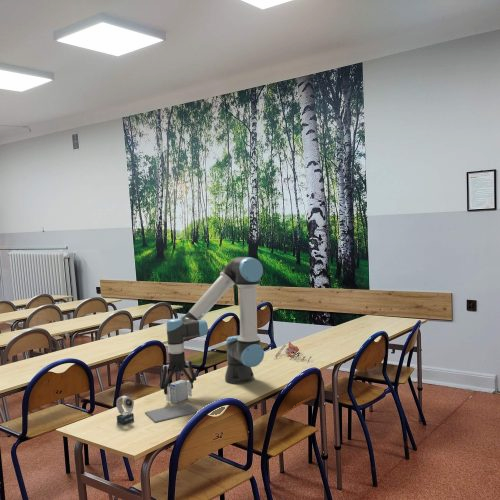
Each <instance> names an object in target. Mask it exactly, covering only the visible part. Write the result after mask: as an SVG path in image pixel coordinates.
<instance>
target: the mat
mask: <svg viewBox="0 0 500 500" xmlns="http://www.w3.org/2000/svg"><path fill="white" fill-rule="evenodd" d="M197 411H199V410H198V409H197V408H195V407H194V406H193V405H191V404H190V403H188V402H183V403H182V402H181V403H177V404H175V405H170V406H166V407H161V408H156V409H152V410H147V411H145V412H144V414H145V415H146V416H147V417H148V418H150V419H151V420H152V422H153V423H160V422H164V421H169V420H172V419H177V418H181V417H185V416H189V415H194V414H197V413H196V412H197Z"/></svg>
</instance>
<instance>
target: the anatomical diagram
mask: <svg viewBox="0 0 500 500" xmlns="http://www.w3.org/2000/svg"><path fill="white" fill-rule="evenodd" d="M282 351H284V353H285V354H286V355H288V356H290V358H291V359H294V358H295V359H297V358H298V359H297V360H298V361H299V360H300V359H301V360H303V361H304V360H305V358H306V357H309V359H307V361H308V362H309V360H310V359H311V358H312V356H309V355H306V354H304V352H303V351H300V348H299V347H298V346H296V345H294V344H292V343H291V341H289V342H288V347H286V345H285V344H283V346H282V347H281V348H280V350H278V351H277V353H276V355H275V357H276V358H277V359H278V357H279V356H281V352H282ZM298 351H299V352H298ZM291 352H292V353H291ZM293 352H294V353H293ZM297 352H298V354H299V355H298V356H297V357H294V356H295V355H297V354H296V353H297ZM301 352H302V353H301ZM300 353H301V354H300ZM304 355H305V356H304ZM291 356H292V357H291ZM302 356H303V357H302ZM301 357H302V358H301Z"/></svg>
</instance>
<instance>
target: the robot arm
mask: <svg viewBox="0 0 500 500" xmlns="http://www.w3.org/2000/svg"><path fill="white" fill-rule="evenodd" d="M263 273H264V267H263V265H262V263H261V261H259V260H258V259H257V258H254V257H250V256H248V257H247V256H238V257H234V258H233V259H231V261H230V262H229V263H227V265H226V266H225V267H224V268H223V269H222V270H221V271H220V272H219V276H218V277H217V279H216V280H215V281H214V282H213V283H212V285H210V287H208V289H207V290H206V291H205V292H204V293H203V294H202V296H201V297H200V298H199V299H198V300H197V302H196V303H195V304H194V305H193V306H192V307H191V308H190V309H189V310H188V312H187V313H186V314H185V315H183V316H181V317H179V318H170V319H168V320H167V321H166V335H167V336H166V338H167V352H168V356H167V357H168V364H166V365H165V364H162V372H161V377H160V380H159V385H158V386H160V388H163V394H164V395H165V398H166V399H165V401H167V403H169V402H170V390H169V384H170V382H171V380H172V379H173V376H174V374H175V373H178V372H179V373H180V372H182V373H183V375H184V376H185V377H186V379H187V383H188V397H190V398H191V397H193V393H192V392H193V390H192V389H194V382H195V381H197V376H196V374H195V371H194V369H193V365H192V361H190V360H186V358H185V340H184V339H188V338H189V339H190V338H197V337H203V336H206V335H208V332H209V326H208V322H207V321H206V320H204V319H203V318H204V317H205V315H207V314H208V313H209V311H210V310H211V309H212V308H213V307H214V305H216V303H217V302H218V301H219V300H220V299H221V297H223V295H224V294H225V293H227V292H228V290H229V289H230V288H231V287H232V286H235V284H236V287H238V290H239V295H238V297H239V335H232V336H228V337H227V338H226V341H225V345H226V359H227V367H226V370H225V371H226V372H225V374H224V381H225V382H226V383H228V384H246V383H250V382H251V381H253V380H254V379H255V376H254V375H255V374H254V372H253V369H252V368H254V367H257V366H259V365H260V364H261V363H263V360H264V357H265V350H264V348H263V347H262V346H261V337H260V336H259V335H258V313H257V312H258V309H257V308H258V300H257V292H258V291H257V289H258V287H259V285H260V280H261V278H262V276H263ZM186 366H187V368H188V371H189V373H188V372H187V370H186V369H185V367H186ZM168 369H169V371H168ZM167 372H168V374H167ZM249 381H250V382H249ZM245 382H246V383H245Z"/></svg>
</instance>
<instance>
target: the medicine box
mask: <svg viewBox="0 0 500 500" xmlns="http://www.w3.org/2000/svg"><path fill="white" fill-rule="evenodd" d="M168 387H169V396H170V401H169V402H171V403H173V404H179V403H180V402H183V401H185V400H187V399H189V395H188V380H186V379H180V380H176V381H174V382H173V381H172V382H171V383H169V384H168Z"/></svg>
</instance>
